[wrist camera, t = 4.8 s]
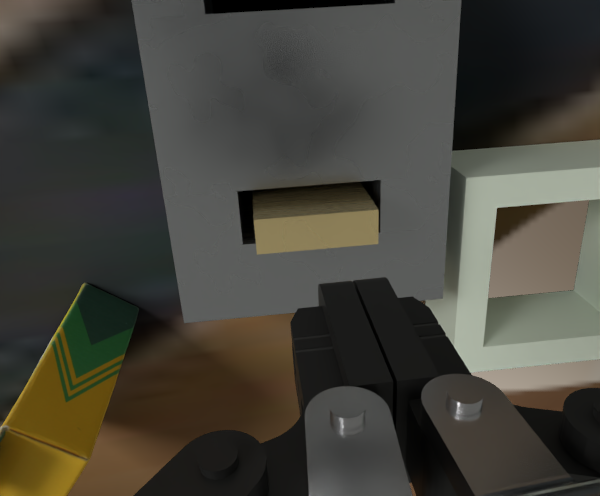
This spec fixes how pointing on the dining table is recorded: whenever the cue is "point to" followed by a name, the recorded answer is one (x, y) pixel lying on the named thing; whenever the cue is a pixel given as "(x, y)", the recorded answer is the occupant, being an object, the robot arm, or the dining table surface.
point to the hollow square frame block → (479, 247)
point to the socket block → (300, 141)
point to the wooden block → (314, 217)
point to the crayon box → (66, 398)
